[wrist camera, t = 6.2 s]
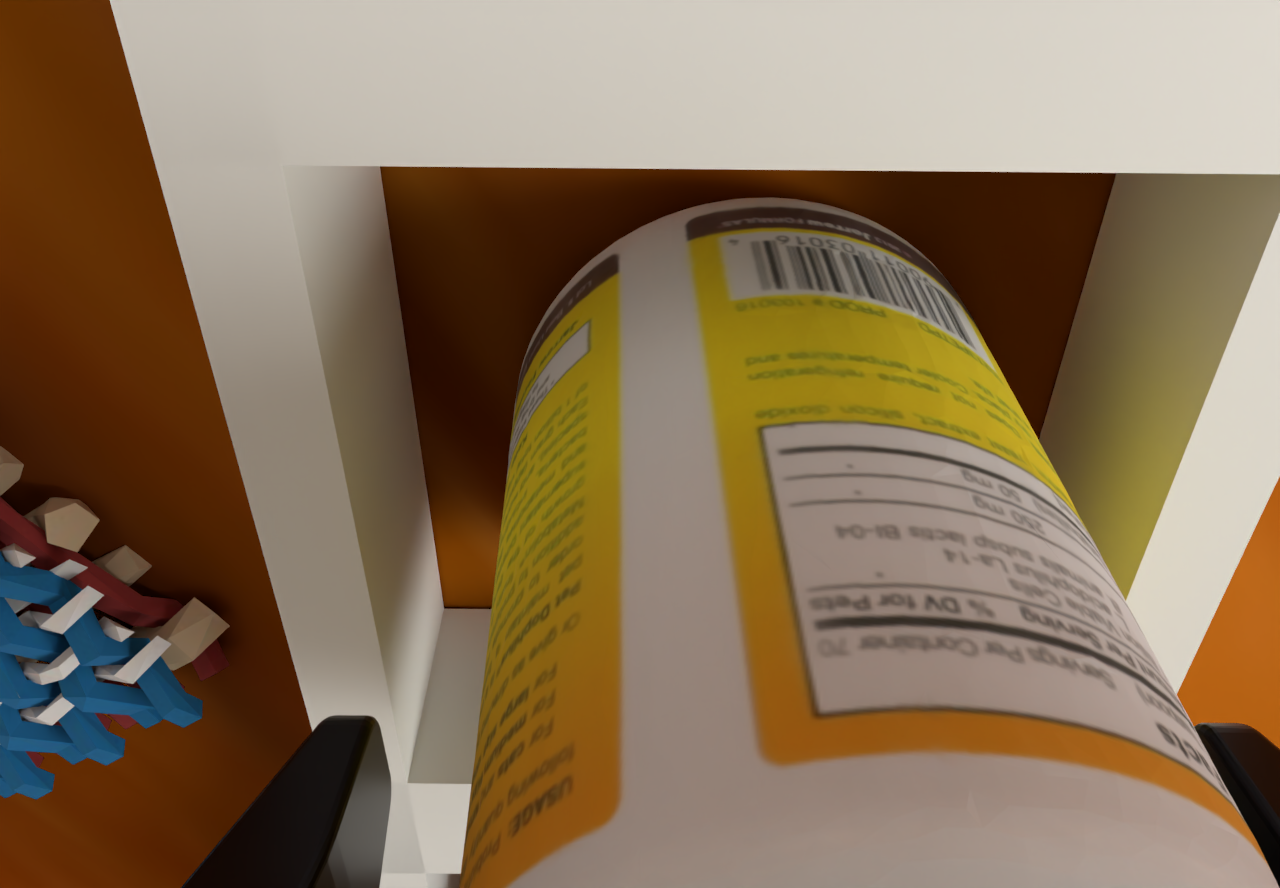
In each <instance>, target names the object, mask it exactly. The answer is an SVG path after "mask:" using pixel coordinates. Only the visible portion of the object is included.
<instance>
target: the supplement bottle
mask: <svg viewBox="0 0 1280 888" xmlns="http://www.w3.org/2000/svg"><path fill="white" fill-rule="evenodd" d="M459 888H1279V886H1278V884H1277V882H1276V879H1275V877H1274V875H1273V873H1272V871H1271V869H1270V867H1269V865H1268V863H1267V861H1266V859H1265V857H1264V855H1263V853H1262V851H1261V849H1260V847H1259V845H1258V843H1257V841H1256V839H1255V837H1254V835H1253V834H1252V832H1251V830H1250V829H1249V827H1248V825H1247V823H1246V822H1245V820H1244V818H1243V816H1242V815H1241V813H1240V811H1239V809H1238V807H1237V805H1236V803H1235V801H1234V800H1233V798H1232V796H1231V795H1230V793H1229V791H1228V789H1227V788H1226V786H1225V784H1224V783H1223V781H1222V779H1221V777H1220V775H1219V773H1218V771H1217V769H1216V767H1215V766H1214V764H1213V762H1212V760H1211V758H1210V756H1209V754H1208V752H1207V750H1206V749H1205V747H1204V745H1203V743H1202V741H1201V739H1200V737H1199V736H1198V734H1197V732H1196V730H1195V728H1194V726H1193V724H1192V722H1191V721H1190V719H1189V717H1188V715H1187V713H1186V711H1185V709H1184V708H1183V706H1182V704H1181V702H1180V700H1179V698H1178V697H1177V695H1176V693H1175V691H1174V689H1173V687H1172V686H1171V684H1170V682H1169V680H1168V678H1167V676H1166V675H1165V673H1164V671H1163V669H1162V667H1161V665H1160V663H1159V662H1158V660H1157V658H1156V656H1155V654H1154V652H1153V651H1152V649H1151V647H1150V645H1149V643H1148V641H1147V640H1146V638H1145V636H1144V634H1143V632H1142V630H1141V629H1140V627H1139V625H1138V623H1137V621H1136V619H1135V617H1134V616H1133V614H1132V612H1131V610H1130V608H1129V606H1128V604H1127V603H1126V601H1125V599H1124V597H1123V595H1122V593H1121V591H1120V590H1119V588H1118V586H1117V584H1116V582H1115V580H1114V578H1113V577H1112V575H1111V573H1110V571H1109V569H1108V568H1107V566H1106V564H1105V562H1104V560H1103V558H1102V556H1101V554H1100V552H1099V551H1098V549H1097V547H1096V545H1095V543H1094V541H1093V539H1092V538H1091V536H1090V534H1089V532H1088V530H1087V529H1086V527H1085V525H1084V523H1083V522H1082V520H1081V518H1080V516H1079V514H1078V512H1077V510H1076V508H1075V507H1074V505H1073V503H1072V501H1071V499H1070V497H1069V495H1068V493H1067V491H1066V489H1065V488H1064V486H1063V484H1062V482H1061V480H1060V479H1059V477H1058V475H1057V473H1056V471H1055V470H1054V468H1053V466H1052V464H1051V462H1050V460H1049V458H1048V457H1047V455H1046V453H1045V451H1044V449H1043V447H1042V445H1041V444H1040V442H1039V440H1038V438H1037V436H1036V434H1035V432H1034V431H1033V429H1032V427H1031V425H1030V423H1029V421H1028V420H1027V418H1026V416H1025V414H1024V412H1023V410H1022V409H1021V407H1020V405H1019V403H1018V401H1017V399H1016V398H1015V396H1014V394H1013V392H1012V390H1011V389H1010V387H1009V385H1008V383H1007V381H1006V379H1005V377H1004V375H1003V373H1002V371H1001V370H1000V368H999V366H998V364H997V362H996V361H995V359H994V357H993V355H992V354H991V352H990V350H989V348H988V346H987V345H986V343H985V341H984V339H983V337H982V335H981V333H980V331H979V329H978V327H977V325H976V323H975V321H974V319H973V317H972V316H971V314H970V312H969V311H968V309H967V308H966V306H965V305H964V303H963V302H962V300H961V299H960V297H959V296H958V294H957V293H956V291H955V290H954V289H953V287H952V286H951V285H950V283H949V282H948V281H947V279H946V278H945V277H944V276H943V274H942V273H941V272H940V271H939V270H938V269H937V268H936V266H935V265H934V264H933V263H932V262H931V261H930V260H929V259H927V258H926V257H925V256H924V255H923V254H922V253H921V252H920V251H919V250H917V249H916V248H915V247H914V246H912V245H911V244H910V243H908V242H907V241H906V240H904V239H903V238H901V237H900V236H898V235H897V234H895V233H893V232H892V231H890V230H889V229H887V228H885V227H883V226H881V225H880V224H878V223H876V222H874V221H872V220H870V219H867V218H865V217H863V216H860V215H858V214H855V213H852V212H849V211H846V210H843V209H840V208H837V207H833V206H829V205H825V204H821V203H816V202H810V201H804V200H798V199H788V198H774V197H769V198H741V199H731V200H725V201H719V202H713V203H707V204H703V205H699V206H695V207H691V208H687V209H684V210H681V211H678V212H675V213H673V214H670V215H667V216H664V217H662V218H659V219H657V220H655V221H653V222H651V223H648V224H646V225H644V226H642V227H640V228H638V229H636V230H634V231H633V232H631V233H629V234H627V235H626V236H624V237H622V238H620V239H619V240H617V241H616V242H614V243H613V244H612V245H610V246H609V247H608V248H606V249H605V250H603V251H602V252H601V253H599V254H598V255H597V256H595V257H594V258H593V259H592V260H590V261H589V262H588V263H587V264H586V265H585V266H584V267H583V268H582V269H581V270H579V271H578V272H577V273H576V275H575V276H574V277H573V278H572V279H571V280H570V281H569V282H568V284H567V285H566V286H565V287H564V288H563V289H562V291H561V292H560V293H559V294H558V295H557V297H556V298H555V300H554V301H553V302H552V304H551V305H550V307H549V308H548V310H547V311H546V313H545V315H544V317H543V318H542V320H541V322H540V324H539V326H538V327H537V329H536V331H535V333H534V335H533V337H532V339H531V341H530V344H529V346H528V349H527V352H526V355H525V357H524V360H523V363H522V367H521V371H520V376H519V381H518V387H517V394H516V400H515V406H514V416H513V426H512V433H511V440H510V449H509V463H508V471H507V479H506V489H505V498H504V507H503V516H502V524H501V532H500V540H499V548H498V557H497V565H496V573H495V582H494V591H493V600H492V610H491V619H490V628H489V637H488V646H487V655H486V664H485V673H484V682H483V690H482V698H481V707H480V716H479V725H478V734H477V744H476V753H475V762H474V769H473V776H472V784H471V793H470V801H469V810H468V818H467V827H466V835H465V843H464V851H463V859H462V867H461V875H460V883H459Z"/></svg>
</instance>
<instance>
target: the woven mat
mask: <svg viewBox="0 0 1280 888" xmlns="http://www.w3.org/2000/svg"><path fill="white" fill-rule="evenodd" d="M23 466H24V464H23V463H22V462H20V461H19V460H18V459H17V458H15V457H14V456H13V455H12V454H10V453H9V452H8V451H6V450H5V449H4V448H3V447H1V446H0V496H1V495H2V494H3V493H4V492H5V491H6V490H8V489H9V488H10V487H11V486H12V485H13V484H15V483H16V482H17V481H18V480H19V479H20V476H21V473H22V470H23ZM99 521H100V520H99V518H98V517H97V516H96V515H95V514H94V513H93V511H92V510H91V509H90V508H89V507H88V506H87V505H86V504H85V503H83V502H82V501H80V500H79V499H70V498H61V497H53V498H49V499H48V500H47V501H46V502H45V503H44V504H42V505H41V506H39V507H38V508H36V509H34V510H33V511H31V512H30V513H28V514H26V515H25V516H22V515H21V514H19V513H18V512H17V511H16V510H14V509H13V508H12V507H11V506H10V505H9V504H8V503H7V502H5V501H4V500H3V499H2V498H1V497H0V795H1V796H3V797H4V798H7V797H9V796H11V795H13V794H15V793H20V794H23V795H25V796H28V797H31V798H33V799H38V798H40V797H42V796H44V795H45V794H47V793H49V792H51V791H52V789H53V783H54V776H55V774H52V773H50V772H47V771H45V770H43V769H40V768H39V766H40V764H41V763H42V761H43V759H44V757H42V756H41V755H40V754H38V753H37V752H49V753H56V754H58V755H60V756H61V757H63V758H64V759H66V760H67V761H69V762H70V763H71V764H73V765H74V764H76V763H78V762H80V761H82V760H84V759H86V758H87V757H88V758H90V759H92V760H95V761H97V762H99V763H102V764H104V765H108V764H110V763H112V762H114V761H115V760H117V759H119V758H121V757H123V756H124V747H125V739H123V738H121V737H119V736H116V735H114V734H112V733H110V732H108V728H109V726H110V724H111V721H112V720H110V719H109V718H107V717H106V716H105V715H103V714H102V713H105V714H108V715H109V716H110V717H112V718H113V719H114V720H115V721H116V722H117V723H119V724H120V725H121V726H122V727H123V728H124V729H127V728H129V727H131V726H133V725H135V724H136V723H139V724H141V725H142V726H143V727H144V728H148V727H150V726H153V725H155V724H157V723H159V722H160V721H161V720H162V719H165V720H168V721H170V722H172V723H174V724H176V725H179V726H181V727H183V728H184V727H186V726H188V725H190V724H192V723H193V722H195V721H197V720H199V719H201V718H202V703H203V701H202V700H200V699H198V698H196V697H194V696H192V695H190V694H188V693H186V692H185V691H184V688H185V686H183V685H182V684H181V683H179V682H178V681H177V679H176V678H175V676H174V675H173V673H172V672H171V670H176V669H178V668H180V667H182V666H184V665H186V664H188V663H190V662H192V664H193V666H194V668H195V670H196V672H197V674H198V676H199V678H200V680H201V681H203V680H205V679H207V678H209V677H211V676H213V675H215V674H217V673H218V672H220V671H221V670H223V669H224V668H226V667H228V666H229V663H228V661H227V659H226V657H225V655H224V653H223V650H222V648H221V646H220V644H219V642H218V640H217V638H218V637H219V636H220V635H221V634H222V633H223V632H224V631H225V630H226V629H227V628H228V627H229V626H230V625H228V624H227V623H226V622H225V621H224V620H223V619H221V618H220V617H219V616H218V615H217V614H215V613H214V612H213V611H212V610H210V609H209V608H208V607H206V606H205V605H204V604H203V603H201V602H200V601H199V600H197V599H196V598H195V597H194V598H193V599H192V600H191V601H190V602H189V603H187V604H186V605H185V606H183V605H182V604H180V603H179V602H178V601H177V600H175V599H167V598H157V597H147V596H142V595H140V594H139V593H137V592H136V591H134V590H133V589H131V588H130V587H129V586H130V585H132V584H133V583H134V582H135V581H136V580H137V579H139V578H140V577H141V576H142V575H143V574H144V573H145V572H146V571H148V570H149V569H150V568H151V567H152V565H151V564H149V563H148V562H147V561H145V560H144V559H143V558H142V557H140V556H139V555H138V554H137V553H135V552H134V551H133V550H131V549H130V548H129V547H128V546H126V545H124V546H122V547H120V548H118V549H116V550H114V551H112V552H110V553H108V554H106V555H104V556H102V557H100V558H98V559H96V560H94V561H92V562H91V561H89V560H88V559H86V558H85V557H83V556H82V555H80V554H79V553H77V552H78V551H79V549H80V548H81V546H82V545H83V544H84V542H85V541H86V539H87V538H88V536H89V535H90V533H91V532H92V531H93V529H94V528H95V526H96V525H97V523H98V522H99ZM31 565H34V566H35V567H37V568H33V567H29V566H31ZM96 608H97V609H99V610H101V611H103V612H105V613H107V614H109V615H111V616H113V617H115V618H117V619H120V620H122V621H124V622H126V623H128V624H130V625H132V626H135V627H133V628H131V629H128V628H126V627H124V626H122V625H120V624H118V623H116V622H114V621H112V620H110V619H108V618H106V617H103V618H102V619H100V620H98V619H97V618H96V616H95V614H94V610H95V609H96ZM38 660H40V661H45V662H49V663H51V664H41V663H35V662H37V661H38ZM120 682H124V683H126V684H127V685H129V686H130V687H127V686H124V685H122V684H121V683H120Z"/></svg>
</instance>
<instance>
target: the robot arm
mask: <svg viewBox="0 0 1280 888" xmlns="http://www.w3.org/2000/svg"><path fill="white" fill-rule="evenodd" d="M1194 728H1195V730H1196V732H1197V734H1198V736H1199V737H1200V739H1201V741H1202V743H1203V745H1204V747H1205V749H1206V750H1207V752H1208V754H1209V756H1210V758H1211V760H1212V762H1213V764H1214V766H1215V767H1216V769H1217V771H1218V773H1219V775H1220V777H1221V779H1222V781H1223V783H1224V784H1225V786H1226V788H1227V789H1228V791H1229V793H1230V795H1231V796H1232V798H1233V800H1234V801H1235V803H1236V805H1237V807H1238V809H1239V811H1240V813H1241V815H1242V816H1243V818H1244V820H1245V822H1246V823H1247V825H1248V827H1249V829H1250V830H1251V832H1252V834H1253V835H1254V837H1255V839H1256V841H1257V843H1258V845H1259V847H1260V849H1261V851H1262V853H1263V855H1264V857H1265V859H1266V861H1267V863H1268V865H1269V867H1270V869H1271V871H1272V873H1273V875H1274V877H1275V879H1276V882H1277V884H1278V886H1279V888H1280V749H1279V748H1278V747H1277V746H1275V745H1274V744H1273V743H1272V742H1271V741H1269V740H1268V739H1267V738H1266V737H1265V736H1264V735H1262V734H1261V733H1260V732H1258V731H1257V730H1255V729H1254V728H1252V727H1250V726H1248V725H1245V724H1239V723H1200V724H1198V725H1196V726H1194ZM390 805H391V775H390V770H389V765H388V761H387V756H386V752H385V747H384V742H383V738H382V733H381V729H380V725H379V723H378V721H377V720H376V719H375V718H374V717H373V716H368V715H333V716H329V717H327V718H325V719H324V720H322V721H321V722H320V723H319V724H318V725H317V727H316V728H315V729H314V730H313V731H312V732H311V734H310V735H309V736H308V737H307V738H306V740H305V741H304V742H303V743H302V744H301V746H300V747H299V748H298V749H297V750H296V751H295V753H294V754H293V755H292V756H291V757H290V759H289V760H288V761H287V762H286V763H285V765H284V766H283V767H282V768H281V769H280V771H279V772H278V773H277V774H276V775H275V776H274V778H273V779H272V780H271V781H270V782H269V784H268V785H267V786H266V787H265V788H264V790H263V791H262V792H261V793H260V794H259V795H258V797H257V798H256V799H255V800H254V801H253V803H252V804H251V805H250V806H249V807H248V809H247V810H246V811H245V812H244V813H243V815H242V816H241V817H240V818H239V819H238V820H237V822H236V823H235V824H234V825H233V826H232V828H231V829H230V830H229V831H228V832H227V834H226V835H225V836H224V837H223V838H222V840H221V841H220V842H219V843H218V844H217V845H216V847H215V848H214V849H213V850H212V851H211V853H210V854H209V855H208V856H207V857H206V859H205V860H204V861H203V862H202V863H201V864H200V866H199V867H198V868H197V869H196V870H195V872H194V873H193V874H192V875H191V876H190V878H189V879H188V880H187V881H186V882H185V884H184V885H183V886H182V887H181V888H379V886H380V879H381V872H382V864H383V857H384V849H385V842H386V835H387V827H388V820H389V813H390Z"/></svg>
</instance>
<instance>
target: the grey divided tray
mask: <svg viewBox="0 0 1280 888" xmlns="http://www.w3.org/2000/svg"><path fill="white" fill-rule="evenodd" d="M110 3H111V7H112V11H113V14H114V18H115V21H116V25H117V29H118V32H119V36H120V39H121V43H122V47H123V50H124V54H125V57H126V61H127V65H128V68H129V72H130V75H131V79H132V83H133V86H134V90H135V93H136V97H137V101H138V104H139V108H140V112H141V115H142V119H143V122H144V126H145V130H146V133H147V137H148V140H149V144H150V148H151V151H152V155H153V158H154V162H155V166H156V169H157V173H158V176H159V180H160V184H161V187H162V191H163V194H164V198H165V202H166V205H167V209H168V212H169V216H170V220H171V223H172V227H173V230H174V234H175V238H176V241H177V245H178V249H179V252H180V256H181V259H182V263H183V267H184V270H185V274H186V277H187V281H188V285H189V288H190V292H191V295H192V299H193V303H194V306H195V310H196V313H197V317H198V321H199V324H200V328H201V331H202V335H203V339H204V342H205V346H206V349H207V353H208V357H209V360H210V364H211V368H212V371H213V375H214V378H215V382H216V386H217V389H218V393H219V396H220V400H221V404H222V407H223V411H224V414H225V418H226V422H227V425H228V429H229V432H230V436H231V440H232V443H233V447H234V450H235V454H236V458H237V461H238V465H239V468H240V472H241V476H242V479H243V483H244V486H245V490H246V494H247V497H248V501H249V505H250V508H251V512H252V515H253V519H254V523H255V526H256V530H257V533H258V537H259V541H260V544H261V548H262V551H263V555H264V559H265V562H266V566H267V569H268V573H269V577H270V580H271V584H272V587H273V591H274V595H275V598H276V602H277V605H278V609H279V613H280V616H281V620H282V624H283V627H284V631H285V634H286V638H287V642H288V645H289V649H290V652H291V656H292V660H293V663H294V667H295V670H296V674H297V678H298V681H299V685H300V688H301V692H302V696H303V699H304V703H305V706H306V710H307V714H308V717H309V721H310V724H311V728H312V731H313V730H314V729H315V728H316V727H317V725H318V724H319V723H320V722H321V721H322V720H324V719H325V718H327V717H329V716H333V715H368V716H373V717H374V718H375V719H376V720H377V721H378V723H379V725H380V729H381V733H382V738H383V742H384V747H385V752H386V756H387V761H388V765H389V770H390V775H391V805H390V813H389V820H388V827H387V835H386V842H385V849H384V857H383V864H382V872H381V879H380V886H379V888H459V883H460V875H461V867H462V859H463V851H464V843H465V835H466V827H467V818H468V810H469V801H470V793H471V784H472V776H473V769H474V762H475V753H476V744H477V734H478V725H479V716H480V707H481V698H482V690H483V682H484V673H485V664H486V655H487V646H488V637H489V628H490V619H491V610H492V609H444V605H443V598H442V591H441V584H440V577H439V570H438V564H437V557H436V550H435V543H434V536H433V529H432V522H431V515H430V508H429V502H428V495H427V488H426V481H425V474H424V467H423V460H422V453H421V446H420V440H419V433H418V426H417V419H416V412H415V405H414V398H413V391H412V385H411V378H410V371H409V364H408V357H407V350H406V343H405V336H404V329H403V323H402V316H401V309H400V302H399V295H398V288H397V281H396V274H395V267H394V261H393V254H392V247H391V240H390V233H389V226H388V219H387V212H386V205H385V199H384V192H383V185H382V178H381V171H380V166H402V167H512V168H623V169H733V170H844V171H955V172H1065V173H1116V176H1115V180H1114V183H1113V187H1112V190H1111V193H1110V197H1109V200H1108V204H1107V207H1106V211H1105V214H1104V218H1103V221H1102V224H1101V228H1100V231H1099V235H1098V238H1097V242H1096V245H1095V249H1094V252H1093V255H1092V259H1091V262H1090V266H1089V269H1088V273H1087V276H1086V280H1085V283H1084V286H1083V290H1082V293H1081V297H1080V300H1079V304H1078V307H1077V311H1076V314H1075V317H1074V321H1073V324H1072V328H1071V331H1070V335H1069V338H1068V342H1067V345H1066V348H1065V352H1064V355H1063V359H1062V362H1061V366H1060V369H1059V373H1058V376H1057V379H1056V383H1055V386H1054V390H1053V393H1052V397H1051V400H1050V404H1049V407H1048V410H1047V414H1046V417H1045V421H1044V424H1043V428H1042V431H1041V435H1040V438H1039V442H1040V444H1041V445H1042V447H1043V449H1044V451H1045V453H1046V455H1047V457H1048V458H1049V460H1050V462H1051V464H1052V466H1053V468H1054V470H1055V471H1056V473H1057V475H1058V477H1059V479H1060V480H1061V482H1062V484H1063V486H1064V488H1065V489H1066V491H1067V493H1068V495H1069V497H1070V499H1071V501H1072V503H1073V505H1074V507H1075V508H1076V510H1077V512H1078V514H1079V516H1080V518H1081V520H1082V522H1083V523H1084V525H1085V527H1086V529H1087V530H1088V532H1089V534H1090V536H1091V538H1092V539H1093V541H1094V543H1095V545H1096V547H1097V549H1098V551H1099V552H1100V554H1101V556H1102V558H1103V560H1104V562H1105V564H1106V566H1107V568H1108V569H1109V571H1110V573H1111V575H1112V577H1113V578H1114V580H1115V582H1116V584H1117V586H1118V588H1119V590H1120V591H1121V593H1122V595H1123V597H1124V599H1125V601H1126V603H1127V604H1128V606H1129V608H1130V610H1131V612H1132V614H1133V616H1134V617H1135V619H1136V621H1137V623H1138V625H1139V627H1140V629H1141V630H1142V632H1143V634H1144V636H1145V638H1146V640H1147V641H1148V643H1149V645H1150V647H1151V649H1152V651H1153V652H1154V654H1155V656H1156V658H1157V660H1158V662H1159V663H1160V665H1161V667H1162V669H1163V671H1164V673H1165V675H1166V676H1167V678H1168V680H1169V682H1170V684H1171V686H1172V687H1173V689H1174V691H1175V693H1176V695H1177V692H1178V690H1179V688H1180V686H1181V684H1182V682H1183V680H1184V678H1185V675H1186V673H1187V671H1188V669H1189V667H1190V665H1191V663H1192V661H1193V658H1194V656H1195V654H1196V652H1197V650H1198V648H1199V646H1200V644H1201V642H1202V639H1203V637H1204V635H1205V633H1206V631H1207V629H1208V627H1209V625H1210V622H1211V620H1212V618H1213V616H1214V614H1215V612H1216V610H1217V608H1218V605H1219V603H1220V601H1221V599H1222V597H1223V595H1224V593H1225V591H1226V588H1227V586H1228V584H1229V582H1230V580H1231V578H1232V576H1233V574H1234V572H1235V569H1236V567H1237V565H1238V563H1239V561H1240V559H1241V557H1242V555H1243V552H1244V550H1245V548H1246V546H1247V544H1248V542H1249V540H1250V538H1251V535H1252V533H1253V531H1254V529H1255V527H1256V525H1257V523H1258V521H1259V519H1260V516H1261V514H1262V512H1263V510H1264V508H1265V506H1266V504H1267V502H1268V499H1269V497H1270V495H1271V493H1272V491H1273V489H1274V487H1275V485H1276V482H1277V480H1278V478H1279V476H1280V0H110Z"/></svg>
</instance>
